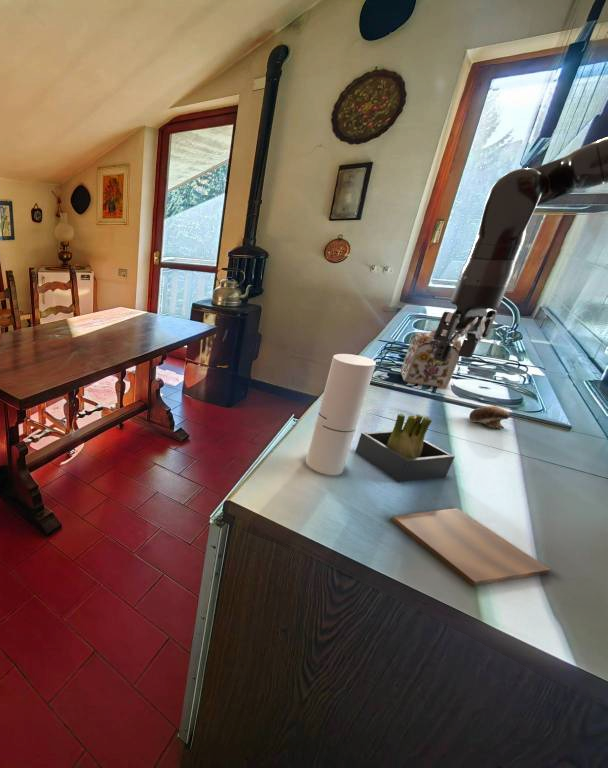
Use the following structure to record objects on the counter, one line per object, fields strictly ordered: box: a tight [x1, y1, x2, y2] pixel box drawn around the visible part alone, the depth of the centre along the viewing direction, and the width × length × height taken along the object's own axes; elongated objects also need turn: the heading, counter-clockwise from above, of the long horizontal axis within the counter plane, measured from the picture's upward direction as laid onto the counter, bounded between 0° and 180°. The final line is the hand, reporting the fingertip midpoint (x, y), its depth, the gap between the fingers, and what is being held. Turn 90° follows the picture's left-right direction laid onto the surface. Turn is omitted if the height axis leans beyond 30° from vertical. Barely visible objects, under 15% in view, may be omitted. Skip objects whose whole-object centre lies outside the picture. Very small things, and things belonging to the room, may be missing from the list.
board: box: [390, 507, 551, 587], centre depth 64 cm, size 14×14×1 cm
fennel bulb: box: [387, 413, 433, 459], centre depth 84 cm, size 6×5×12 cm
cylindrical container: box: [305, 353, 377, 476], centre depth 81 cm, size 7×7×25 cm
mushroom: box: [468, 405, 511, 430], centre depth 104 cm, size 8×8×6 cm
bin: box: [355, 428, 455, 483], centre depth 85 cm, size 12×12×6 cm
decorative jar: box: [400, 328, 462, 389], centre depth 131 cm, size 12×12×18 cm
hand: (452, 358), depth 84 cm, fingers open, 8 cm apart
